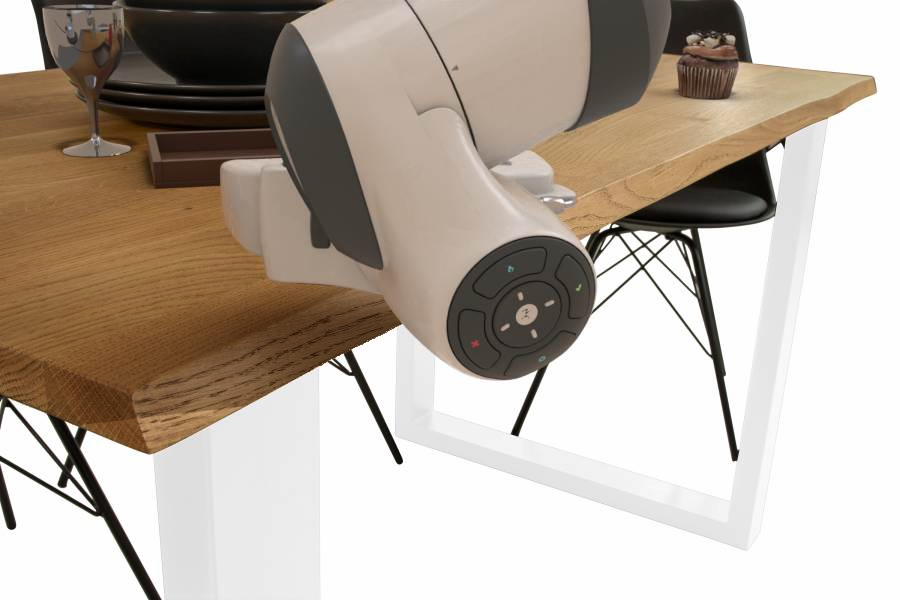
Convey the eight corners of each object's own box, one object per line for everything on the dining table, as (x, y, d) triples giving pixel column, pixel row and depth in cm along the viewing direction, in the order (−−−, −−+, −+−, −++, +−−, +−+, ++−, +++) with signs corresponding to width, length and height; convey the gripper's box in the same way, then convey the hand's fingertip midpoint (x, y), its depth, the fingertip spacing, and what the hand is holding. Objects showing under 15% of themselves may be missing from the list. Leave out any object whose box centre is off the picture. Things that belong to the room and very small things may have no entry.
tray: (155, 189, 94) (152, 161, 93) (148, 157, 107) (146, 132, 106) (359, 179, 100) (359, 153, 99) (329, 149, 113) (329, 126, 112)
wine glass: (118, 140, 115) (106, 3, 110) (146, 152, 109) (134, 9, 104) (48, 147, 110) (31, 5, 105) (73, 160, 105) (57, 11, 99)
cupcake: (747, 96, 159) (755, 31, 156) (713, 102, 153) (720, 34, 149) (695, 89, 166) (702, 26, 162) (661, 94, 159) (667, 29, 156)
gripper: (593, 152, 58) (507, 113, 70) (233, 169, 52) (208, 122, 64) (586, 256, 60) (503, 200, 73) (239, 284, 54) (214, 218, 66)
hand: (362, 164), depth 68 cm, fingers open, 8 cm apart
